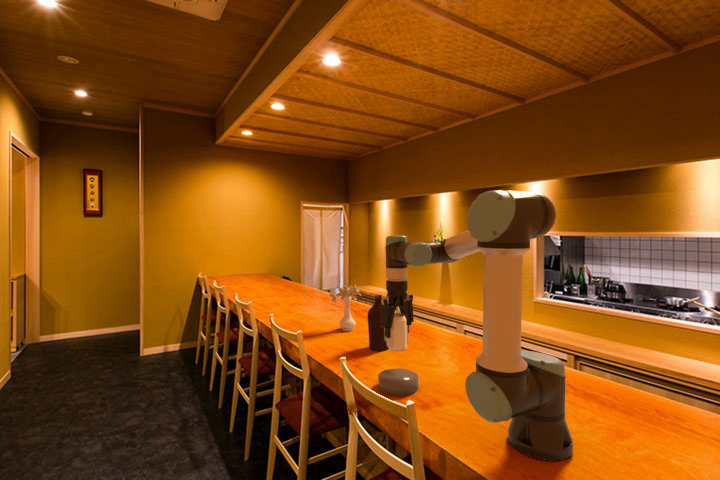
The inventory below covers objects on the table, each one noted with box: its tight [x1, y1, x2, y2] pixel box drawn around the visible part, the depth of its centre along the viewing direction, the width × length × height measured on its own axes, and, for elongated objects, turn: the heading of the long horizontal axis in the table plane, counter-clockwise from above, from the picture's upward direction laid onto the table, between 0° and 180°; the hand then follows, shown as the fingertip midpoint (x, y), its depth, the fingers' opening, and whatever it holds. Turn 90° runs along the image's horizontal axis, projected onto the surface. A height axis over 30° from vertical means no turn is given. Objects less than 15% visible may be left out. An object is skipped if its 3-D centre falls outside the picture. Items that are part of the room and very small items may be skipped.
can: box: [388, 312, 408, 352], centre depth 132 cm, size 6×6×12 cm
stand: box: [377, 368, 419, 397], centre depth 132 cm, size 14×14×4 cm
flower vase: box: [329, 284, 362, 332], centre depth 207 cm, size 13×18×25 cm
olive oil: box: [367, 294, 390, 352], centre depth 175 cm, size 11×11×25 cm
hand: (397, 344), depth 132 cm, fingers closed on can, 6 cm apart
